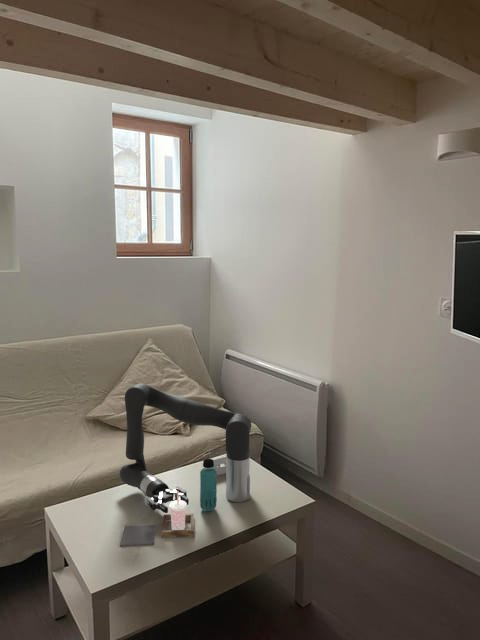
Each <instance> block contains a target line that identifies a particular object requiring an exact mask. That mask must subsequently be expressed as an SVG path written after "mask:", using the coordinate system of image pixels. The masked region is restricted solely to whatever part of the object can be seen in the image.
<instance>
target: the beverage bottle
mask: <svg viewBox="0 0 480 640" xmlns="http://www.w3.org/2000/svg"><path fill="white" fill-rule="evenodd" d="M212 459H213V458H206V459H203V461H202V467H203V468H201V470H200V471H199V476H200V477H199V478H200V480H199V483H200V484H199V485H200V489H199V495H200V496H199V507H200V508H201V510H203V511H206V512H207V511H213V510H215V509H216V508H217V502H218V498H217V493H218V490H217V486H218V483H217V481H218V480H217V478H218V476H216V473H217V471H216V470H215V469H214V468H213V466H214V461H213V460H212Z"/></svg>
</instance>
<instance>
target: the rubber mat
mask: <svg viewBox="0 0 480 640" xmlns="http://www.w3.org/2000/svg"><path fill="white" fill-rule="evenodd" d="M156 527H157V525H156V524H137V525H135V524H132V525H124V526H123V531H122V534H121V539H120V542H119V547H136V546H137V547H139V546H154V542H155V534H156Z"/></svg>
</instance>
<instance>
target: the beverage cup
mask: <svg viewBox="0 0 480 640" xmlns="http://www.w3.org/2000/svg"><path fill="white" fill-rule="evenodd" d="M179 498H180V496H179V491H177V500H175V501H170V503H169V504H168V505H169V509H170V510H169V511H170V514H171V521H170V522H171V523H170V524H171V530H185V529H186V528H185V527H186V520H185V514H187V513H186V512H187V511H186V510H187V506H188V505H187V503H186V502H185V501H183V500H179Z"/></svg>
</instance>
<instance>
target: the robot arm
mask: <svg viewBox="0 0 480 640" xmlns="http://www.w3.org/2000/svg"><path fill="white" fill-rule="evenodd" d="M124 405H125V406H124V407H125V413H126V414H125V416H126V441H125V442H126V443H125V444H126V445H125V457H126V459H128V460H130V461H135V463H134V462H133V463H129V464H125V465H123V466H122V467H121V468H120V470H119V477H120V480H121V481H122V482H123V483H124V484H126V485H127V486H131V487H133V488H137V489H138V490H139V491H140V492H142V493H143V495H145V496H146V506H148V508H149V509H150V510H152V511H154V512H155V511H156V510H157V511H161V512H162V513H164V514H169V507H168V506H167V505H166V503H169V502H170V503H171V502H172V501H175V500H177V491H179V500H183V501H185V502H186V503H187V506H188V505H189V500H190V499H189V497H188V494H187V493H188V491H186V490H185V489H183V488H181V487H180V486H177V485H176V486H175V488H174V489H172V488H170V487H169V486H168V484H167V483H165V482H164V481H162V479H160V478H158V477H157V476H154V475H153V474H152V473H150V472H149V471H147V470H148V469H147V465H146V460H145V455H144V452H145V451H144V450H145V449H144V448H145V434H144V428H143V415H144V409H145V407H151V408H154V409H157V410H161V411H163V412H164V413H166V414H167V415H168V416H170V417H171V418H173V419H175V420H176V421H179V422H182V423H185V424H188V425H191V426H203V427H204V426H205V427H206V426H211V427H216V428H220V429H223V430H225V451H226V456H227V459H226V473H225V474H226V476H225V497H226V499H227V500H228V501H231V502H234V503H242V502H245V501H249V500H251V499H250V497H251V496H250V495H251V476H250V475H251V474H250V470H251V469H250V465H251V463H250V461H251V459H250V458H251V450H250V433H251V430H252V422H251V420H250V417H248V416H247V415H245V414H242V413H238V412H233V411H228V410H223V409H220V408H216V407H215V406H210V405H208V404H204V403H201V402H199V401H197V400H194V399H190V398H186V397H184V396H180V395H176V394H172V393H169V392H166V391H162V390H160V389H158V388H155V387H153V386H150V385H149V384H146V383H141V382H140V383H139V382H138V383H136V384H134V385H132V386H130V387H129V388H128V389H127V390H126V391H125V394H124Z"/></svg>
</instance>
